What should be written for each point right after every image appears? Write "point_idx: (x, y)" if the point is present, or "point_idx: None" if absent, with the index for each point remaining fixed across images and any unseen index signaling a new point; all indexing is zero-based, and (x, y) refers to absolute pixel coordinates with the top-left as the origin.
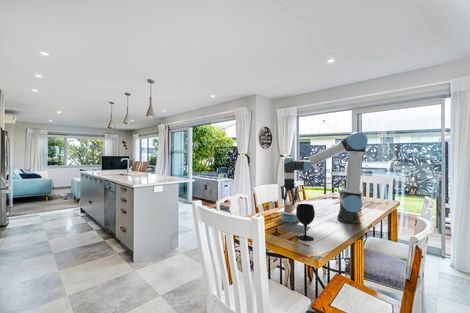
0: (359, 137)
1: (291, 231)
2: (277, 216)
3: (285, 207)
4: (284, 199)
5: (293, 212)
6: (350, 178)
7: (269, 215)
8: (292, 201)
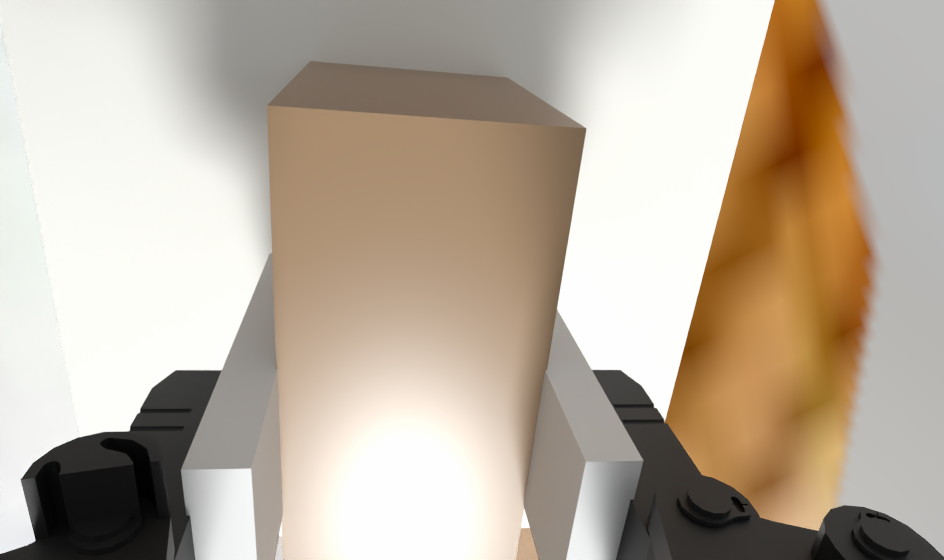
0: None
1: None
2: None
3: (486, 98)
4: (711, 497)
5: (179, 119)
6: None
7: (839, 323)
8: (193, 499)
